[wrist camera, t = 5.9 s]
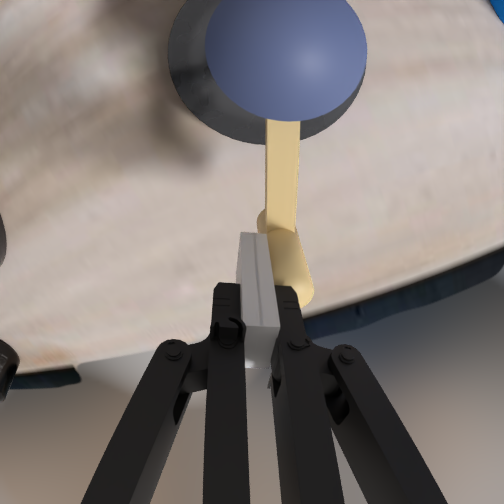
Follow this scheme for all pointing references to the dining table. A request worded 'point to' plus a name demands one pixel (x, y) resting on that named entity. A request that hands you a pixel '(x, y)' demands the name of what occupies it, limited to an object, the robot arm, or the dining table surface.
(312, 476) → the robot arm
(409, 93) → the dining table surface
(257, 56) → the blue crank handle
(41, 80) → the dining table surface
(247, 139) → the post base
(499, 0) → the thermos
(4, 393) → the supplement bottle
